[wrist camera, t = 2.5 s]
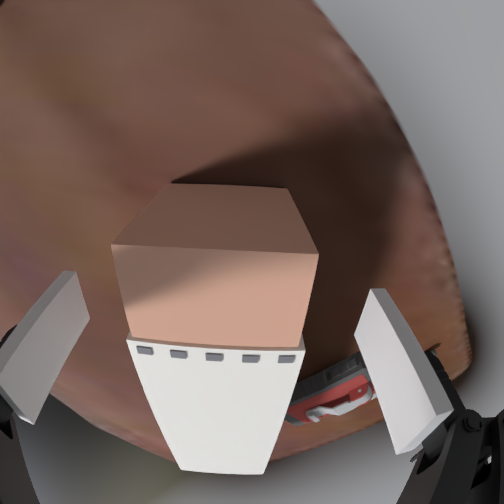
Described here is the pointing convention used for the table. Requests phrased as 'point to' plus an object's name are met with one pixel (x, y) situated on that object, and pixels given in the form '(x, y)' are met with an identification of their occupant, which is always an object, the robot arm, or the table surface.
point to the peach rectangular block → (217, 266)
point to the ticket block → (218, 400)
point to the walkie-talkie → (332, 391)
